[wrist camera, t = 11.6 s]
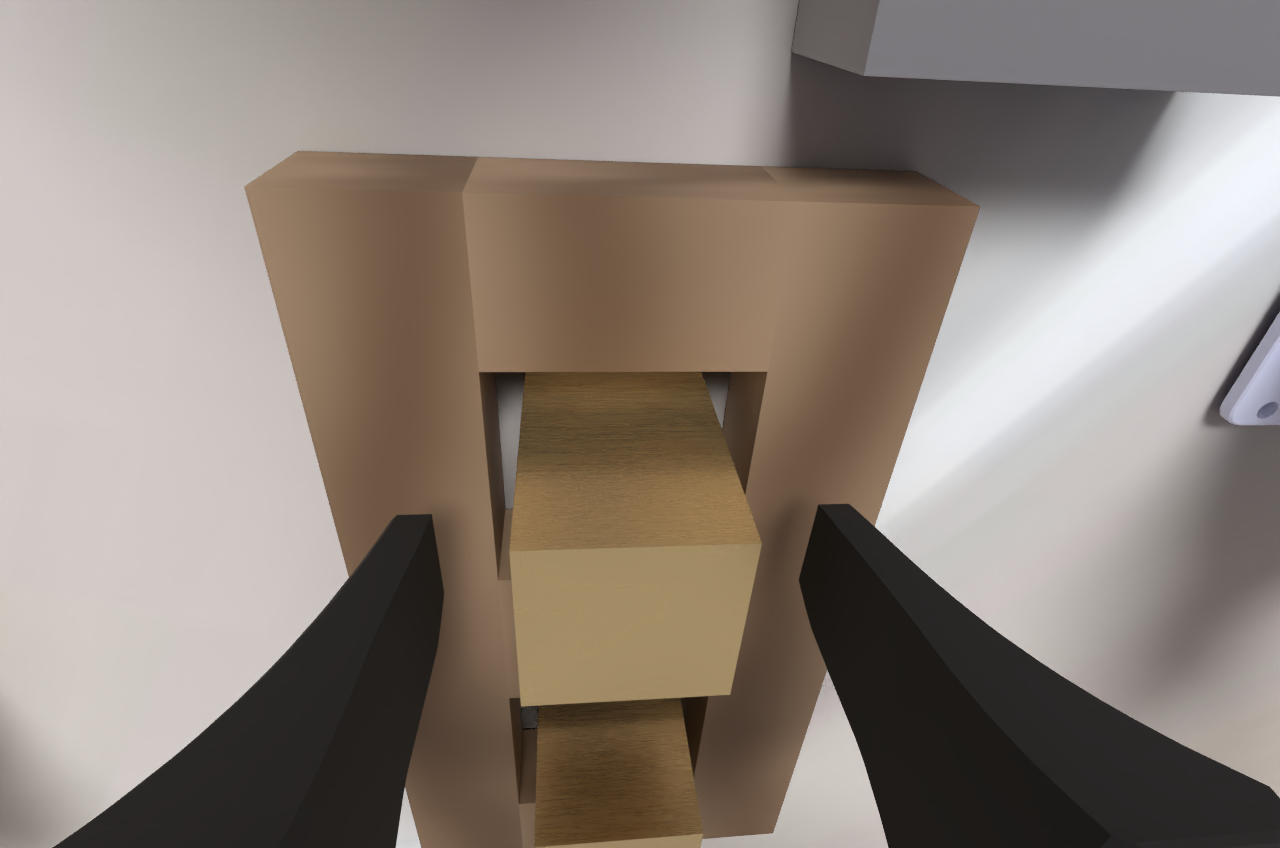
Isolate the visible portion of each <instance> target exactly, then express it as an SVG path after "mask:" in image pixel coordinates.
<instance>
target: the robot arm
mask: <svg viewBox="0 0 1280 848" xmlns="http://www.w3.org/2000/svg"><path fill="white" fill-rule="evenodd" d="M1220 415H1221V416H1222V417H1223V418H1224V419H1225V420H1227V421H1228V422H1230V423H1231V424H1233V425H1280V312H1279V313H1278V315H1277V317H1276V318H1275V320H1274V321H1273V323H1272V325H1271V326H1270V328H1269V329H1268V331H1267V332H1266V334H1265V336H1264V337H1263V339H1262V340H1261V342H1260V344H1259V345H1258V347H1257V348H1256V350H1255V351H1254V353H1253V355H1252V356H1251V358H1250V359H1249V361H1248V363H1247V364H1246V366H1245V367H1244V369H1243V371H1242V372H1241V374H1240V375H1239V377H1238V378H1237V380H1236V382H1235V383H1234V385H1233V386H1232V388H1231V390H1230V391H1229V393H1228V394H1227V396H1226V397H1225V399H1224V401H1223V402H1222V404H1221V407H1220ZM799 584H800V588H801V592H802V596H803V600H804V604H805V608H806V611H807V615H808V619H809V622H810V626H811V629H812V632H813V634H814V637H815V640H816V642H817V645H818V647H819V650H820V652H821V655H822V657H823V660H824V662H825V665H826V667H827V670H828V672H829V675H830V677H831V679H832V682H833V684H834V687H835V689H836V692H837V694H838V696H839V699H840V701H841V704H842V706H843V709H844V711H845V714H846V716H847V719H848V721H849V723H850V726H851V728H852V731H853V733H854V736H855V738H856V741H857V744H858V747H859V749H860V752H861V755H862V758H863V760H864V763H865V767H866V770H867V774H868V777H869V780H870V784H871V787H872V790H873V794H874V797H875V800H876V804H877V807H878V810H879V814H880V817H881V821H882V825H883V828H884V832H885V836H886V839H887V843H888V847H889V848H1280V798H1279V797H1278V796H1277V795H1276V793H1275V792H1274V791H1273V790H1272V789H1271V788H1270V787H1269V786H1267V785H1265V784H1263V783H1261V782H1258V781H1256V780H1254V779H1252V778H1250V777H1248V776H1246V775H1244V774H1242V773H1240V772H1237V771H1235V770H1233V769H1231V768H1229V767H1227V766H1225V765H1223V764H1221V763H1219V762H1217V761H1214V760H1212V759H1210V758H1208V757H1206V756H1204V755H1202V754H1200V753H1198V752H1196V751H1193V750H1191V749H1189V748H1187V747H1185V746H1183V745H1181V744H1179V743H1177V742H1176V741H1174V740H1172V739H1170V738H1168V737H1166V736H1164V735H1163V734H1161V733H1159V732H1157V731H1155V730H1153V729H1151V728H1149V727H1148V726H1146V725H1144V724H1142V723H1140V722H1138V721H1136V720H1134V719H1133V718H1131V717H1129V716H1127V715H1126V714H1124V713H1122V712H1120V711H1119V710H1117V709H1115V708H1113V707H1112V706H1110V705H1108V704H1106V703H1105V702H1103V701H1101V700H1100V699H1098V698H1096V697H1095V696H1093V695H1091V694H1090V693H1088V692H1087V691H1085V690H1083V689H1082V688H1080V687H1078V686H1077V685H1075V684H1074V683H1072V682H1070V681H1069V680H1067V679H1065V678H1064V677H1062V676H1061V675H1059V674H1058V673H1056V672H1054V671H1053V670H1051V669H1050V668H1048V667H1047V666H1045V665H1044V664H1042V663H1041V662H1039V661H1038V660H1036V659H1035V658H1033V657H1032V656H1031V655H1029V654H1028V653H1026V652H1025V651H1024V650H1022V649H1021V648H1019V647H1018V646H1016V645H1015V644H1014V643H1012V642H1011V641H1009V640H1008V639H1006V638H1005V637H1004V636H1002V635H1001V634H1000V633H998V632H997V631H996V630H994V629H993V628H992V627H990V626H989V625H988V624H986V623H985V622H984V621H982V620H981V619H980V618H979V617H977V616H976V615H975V614H974V613H972V612H971V611H970V610H969V609H967V608H966V607H965V606H964V605H962V604H961V603H960V602H959V601H957V600H956V599H955V598H954V597H953V596H951V595H950V594H949V593H948V592H947V591H945V590H944V589H943V588H942V587H941V586H939V585H938V584H937V583H936V582H935V581H934V580H933V579H931V578H930V577H929V576H928V575H927V574H926V573H925V572H923V571H922V570H921V569H920V568H919V567H918V566H917V565H916V564H914V563H913V562H912V561H911V560H910V559H909V558H908V557H907V556H906V555H904V554H903V553H902V552H901V551H900V550H899V549H898V548H897V547H896V546H895V545H894V544H893V543H891V542H890V541H889V540H888V539H887V538H886V537H885V536H884V535H883V534H882V533H881V532H880V531H879V530H877V529H876V528H875V527H874V526H873V525H872V524H871V523H870V522H869V521H868V520H867V519H866V518H864V517H863V516H862V515H861V514H860V513H859V512H858V511H857V510H856V509H855V508H853V507H852V506H851V505H850V504H818V508H817V511H816V515H815V519H814V523H813V527H812V531H811V534H810V538H809V542H808V546H807V550H806V553H805V557H804V561H803V565H802V569H801V572H800V576H799ZM443 601H444V588H443V581H442V575H441V569H440V563H439V556H438V550H437V544H436V537H435V531H434V525H433V518H432V514H414V515H396V516H395V517H394V518H393V519H392V520H391V521H390V523H389V524H388V525H387V527H386V528H385V530H384V531H383V533H382V534H381V535H380V537H379V538H378V540H377V541H376V543H375V544H374V545H373V547H372V548H371V549H370V551H369V552H368V554H367V555H366V556H365V558H364V559H363V560H362V562H361V563H360V564H359V566H358V567H357V568H356V570H355V571H354V572H353V574H352V575H351V576H350V577H349V579H348V580H347V581H346V582H345V584H344V585H343V586H342V587H341V589H340V590H339V591H338V592H337V594H336V595H335V596H334V597H333V599H332V600H331V601H330V602H329V604H328V605H327V606H326V607H325V608H324V610H323V611H322V612H321V613H320V614H319V615H318V617H317V618H316V619H315V620H314V621H313V622H312V623H311V624H310V626H309V627H308V628H307V629H306V630H305V631H304V632H303V633H302V635H301V636H300V637H299V638H298V639H297V640H296V641H295V643H294V644H293V645H292V646H291V647H290V648H289V649H288V650H287V651H286V652H285V654H284V655H283V656H282V657H281V658H280V659H279V660H278V661H277V662H276V663H275V664H274V665H273V666H272V667H271V668H270V669H269V670H268V671H267V672H266V673H265V674H264V675H263V676H262V677H261V678H260V679H259V680H258V681H257V682H256V683H255V684H254V685H253V686H252V687H251V688H250V689H249V690H248V691H247V692H246V693H245V694H244V695H243V696H242V697H241V698H240V699H239V700H238V701H236V702H235V703H234V704H233V705H232V706H231V707H230V708H229V709H228V710H227V711H225V712H224V713H223V714H222V715H221V716H220V717H219V718H218V719H217V720H215V721H214V722H213V723H212V724H211V725H210V726H209V727H208V728H207V729H205V730H204V731H203V732H202V733H201V734H200V735H199V736H198V737H196V738H195V739H194V740H193V741H192V742H191V743H189V744H188V745H187V746H186V747H185V748H184V749H182V750H181V751H180V752H179V753H178V754H176V755H175V756H174V757H173V758H172V759H170V760H169V761H168V762H167V763H165V764H164V765H163V766H162V767H160V768H159V769H158V770H156V771H155V772H154V773H153V774H151V775H150V776H149V777H148V778H146V779H145V780H144V781H142V782H141V783H140V784H139V785H137V786H136V787H135V788H134V789H132V790H131V791H130V792H128V793H127V794H126V795H125V796H123V797H122V798H121V799H120V800H118V801H117V802H116V803H114V804H113V805H112V806H110V807H109V808H108V809H106V810H105V811H104V812H102V813H101V814H100V815H98V816H97V817H96V818H94V819H93V820H92V821H90V822H89V823H87V824H86V825H85V826H83V827H82V828H81V829H79V830H78V831H76V832H75V833H73V834H72V835H70V836H69V837H67V838H66V839H65V840H63V841H62V842H60V843H59V844H57V845H56V846H54V847H53V848H395V847H396V840H397V834H398V827H399V820H400V813H401V806H402V800H403V793H404V788H405V783H406V778H407V773H408V768H409V764H410V760H411V756H412V751H413V747H414V743H415V739H416V735H417V731H418V727H419V723H420V719H421V715H422V711H423V707H424V702H425V698H426V694H427V690H428V686H429V682H430V678H431V674H432V669H433V665H434V661H435V657H436V652H437V648H438V642H439V634H440V627H441V618H442V610H443Z"/></svg>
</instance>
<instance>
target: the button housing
mask: <svg viewBox="0 0 1280 848" xmlns="http://www.w3.org/2000/svg"><path fill="white" fill-rule="evenodd" d="M792 52H793V53H796V54H799V55H802V56H805V57H808V58H811V59H814V60H817V61H820V62H823V63H826V64H829V65H832V66H835V67H838V68H841V69H844V70H847V71H850V72H853V73H856V74H859V75H863V76H877V77H897V78H917V79H937V80H958V81H978V82H998V83H1018V84H1039V85H1059V86H1079V87H1099V88H1120V89H1140V90H1160V91H1180V92H1200V93H1221V94H1241V95H1261V96H1280V0H800V1H799V7H798V14H797V20H796V26H795V33H794V39H793V46H792Z"/></svg>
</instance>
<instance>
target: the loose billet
mask: <svg viewBox="0 0 1280 848" xmlns="http://www.w3.org/2000/svg"><path fill="white" fill-rule="evenodd" d="M761 546H762V542H761V539H760V536H759V534H758V531H757V528H756V525H755V522H754V520H753V517H752V514H751V511H750V508H749V505H748V503H747V500H746V497H745V494H744V491H743V488H742V486H741V483H740V480H739V477H738V474H737V472H736V469H735V466H734V463H733V460H732V457H731V455H730V452H729V449H728V446H727V443H726V440H725V438H724V435H723V432H722V429H721V426H720V424H719V421H718V418H717V415H716V412H715V409H714V407H713V404H712V401H711V398H710V395H709V392H708V390H707V387H706V384H705V381H704V378H703V375H702V373H701V372H525V383H524V394H523V405H522V416H521V427H520V438H519V449H518V461H517V472H516V483H515V494H514V505H513V516H512V527H511V538H510V549H509V554H510V567H511V581H512V594H513V607H514V620H515V634H516V647H517V660H518V673H519V687H520V700H521V706H538V705H556V704H574V703H592V702H610V701H628V700H646V699H664V698H681V697H699V696H717V695H730V693H731V688H732V683H733V679H734V674H735V669H736V664H737V660H738V655H739V650H740V646H741V641H742V636H743V631H744V627H745V622H746V617H747V612H748V608H749V603H750V598H751V593H752V589H753V584H754V579H755V575H756V570H757V565H758V560H759V556H760V551H761Z"/></svg>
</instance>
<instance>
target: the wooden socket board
mask: <svg viewBox="0 0 1280 848" xmlns="http://www.w3.org/2000/svg"><path fill="white" fill-rule="evenodd" d="M245 190H246V194H247V198H248V202H249V205H250V209H251V213H252V217H253V220H254V224H255V228H256V231H257V235H258V239H259V243H260V246H261V250H262V254H263V258H264V261H265V265H266V269H267V273H268V276H269V280H270V284H271V287H272V291H273V295H274V299H275V302H276V306H277V310H278V314H279V317H280V321H281V325H282V329H283V332H284V336H285V340H286V343H287V347H288V351H289V355H290V358H291V362H292V366H293V370H294V373H295V377H296V381H297V385H298V388H299V392H300V396H301V399H302V403H303V407H304V411H305V414H306V418H307V422H308V426H309V429H310V433H311V437H312V441H313V444H314V448H315V452H316V456H317V459H318V463H319V467H320V470H321V474H322V478H323V482H324V485H325V489H326V493H327V497H328V500H329V504H330V508H331V512H332V515H333V519H334V523H335V526H336V530H337V534H338V538H339V541H340V545H341V549H342V553H343V556H344V560H345V564H346V568H347V571H348V575H349V577H350V576H351V575H352V574H353V572H354V571H355V570H356V568H357V567H358V566H359V564H360V563H361V562H362V560H363V559H364V558H365V556H366V555H367V554H368V552H369V551H370V549H371V548H372V547H373V545H374V544H375V543H376V541H377V540H378V538H379V537H380V535H381V534H382V533H383V531H384V530H385V528H386V527H387V525H388V524H389V523H390V521H391V520H392V519H393V518H394V517H395V516H396V515H414V514H432V518H433V525H434V531H435V537H436V544H437V550H438V556H439V563H440V569H441V575H442V581H443V588H444V601H443V610H442V618H441V627H440V634H439V642H438V648H437V652H436V657H435V661H434V665H433V669H432V674H431V678H430V682H429V686H428V690H427V694H426V698H425V702H424V707H423V711H422V715H421V719H420V723H419V727H418V731H417V735H416V739H415V743H414V747H413V751H412V756H411V760H410V764H409V768H408V773H407V778H406V783H405V788H406V792H407V795H408V799H409V803H410V807H411V810H412V814H413V818H414V821H415V825H416V829H417V833H418V836H419V840H420V844H421V848H534V839H535V805H536V772H537V738H538V729H526V730H523V729H522V716H521V703H520V687H519V673H518V660H517V647H516V634H515V620H514V607H513V594H512V581H511V567H510V554H509V549H510V538H511V527H512V516H513V509H505V496H504V483H503V470H502V457H501V444H500V431H499V418H498V405H497V392H496V380H495V372H731V376H730V383H729V390H728V397H727V403H726V410H725V417H724V424H723V431H722V432H723V435H724V438H725V440H726V443H727V446H728V449H729V452H730V455H731V457H732V460H733V463H734V466H735V469H736V472H737V474H738V477H739V480H740V483H741V486H742V488H743V491H744V494H745V497H746V500H747V503H748V505H749V508H750V511H751V514H752V517H753V520H754V522H755V525H756V528H757V531H758V534H759V536H760V539H761V542H762V546H761V551H760V556H759V560H758V565H757V570H756V575H755V579H754V584H753V589H752V593H751V598H750V603H749V608H748V612H747V617H746V622H745V627H744V631H743V636H742V641H741V646H740V650H739V655H738V660H737V664H736V669H735V674H734V679H733V683H732V688H731V693H730V695H717V696H699V697H683V703H682V711H683V717H684V723H685V729H686V735H687V741H688V747H689V753H690V759H691V765H692V771H693V777H694V783H695V789H696V795H697V801H698V807H699V813H700V819H701V825H702V831H703V836H702V839H707V838H719V837H731V836H744V835H756V834H769V833H773V831H774V828H775V825H776V822H777V819H778V816H779V813H780V810H781V807H782V804H783V801H784V798H785V795H786V792H787V789H788V786H789V783H790V780H791V777H792V774H793V771H794V768H795V765H796V762H797V759H798V756H799V753H800V750H801V747H802V744H803V741H804V738H805V735H806V732H807V728H808V725H809V722H810V719H811V716H812V713H813V710H814V707H815V704H816V701H817V698H818V695H819V692H820V689H821V686H822V683H823V680H824V677H825V674H826V671H827V667H826V665H825V662H824V660H823V657H822V655H821V652H820V650H819V647H818V645H817V642H816V640H815V637H814V634H813V632H812V629H811V626H810V622H809V619H808V615H807V611H806V608H805V604H804V600H803V596H802V592H801V588H800V584H799V576H800V572H801V569H802V565H803V561H804V557H805V553H806V550H807V546H808V542H809V538H810V534H811V531H812V527H813V523H814V519H815V515H816V511H817V508H818V504H850V505H851V506H852V507H853V508H855V509H856V510H857V511H858V512H859V513H860V514H861V515H862V516H863V517H864V518H866V519H867V520H868V521H869V522H870V523H871V524H872V525H873V526H875V523H876V520H877V517H878V514H879V511H880V508H881V505H882V502H883V499H884V496H885V493H886V490H887V487H888V484H889V481H890V478H891V475H892V472H893V469H894V466H895V463H896V460H897V457H898V454H899V451H900V448H901V445H902V442H903V439H904V436H905V433H906V430H907V427H908V424H909V421H910V418H911V415H912V411H913V408H914V405H915V402H916V399H917V396H918V393H919V390H920V387H921V384H922V381H923V378H924V375H925V372H926V369H927V366H928V363H929V360H930V357H931V354H932V351H933V348H934V345H935V342H936V339H937V336H938V333H939V330H940V327H941V324H942V321H943V318H944V315H945V312H946V309H947V306H948V303H949V300H950V297H951V294H952V291H953V288H954V285H955V282H956V279H957V276H958V273H959V270H960V267H961V264H962V261H963V258H964V254H965V251H966V248H967V245H968V242H969V239H970V236H971V233H972V230H973V227H974V224H975V221H976V218H977V215H978V212H979V209H980V206H978V205H977V204H975V203H973V202H971V201H969V200H967V199H966V198H964V197H962V196H960V195H958V194H957V193H955V192H953V191H951V190H949V189H947V188H946V187H944V186H942V185H940V184H938V183H937V182H935V181H933V180H931V179H929V178H927V177H926V176H924V175H922V174H920V173H918V172H915V171H885V170H855V169H825V168H794V167H764V166H734V165H704V164H674V163H643V162H613V161H583V160H553V159H522V158H492V157H462V156H432V155H402V154H371V153H341V152H311V151H297V152H296V153H294V154H293V155H291V156H290V157H288V158H287V159H285V160H284V161H282V162H281V163H279V164H278V165H276V166H275V167H273V168H272V169H270V170H269V171H267V172H266V173H264V174H263V175H261V176H260V177H258V178H257V179H255V180H254V181H252V182H251V183H249V184H248V185H246V186H245Z"/></svg>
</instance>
